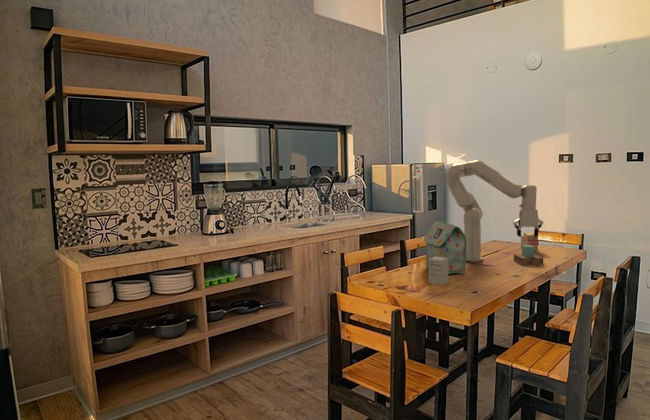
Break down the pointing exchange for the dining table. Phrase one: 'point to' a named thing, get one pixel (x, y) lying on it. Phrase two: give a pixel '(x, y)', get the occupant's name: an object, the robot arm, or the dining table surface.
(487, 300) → the dining table surface
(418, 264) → the dining table surface
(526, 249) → the teal block
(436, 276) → the supplement box
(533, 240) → the stack of blocks
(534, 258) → the walnut block
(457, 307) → the dining table surface
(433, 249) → the lunch bag
